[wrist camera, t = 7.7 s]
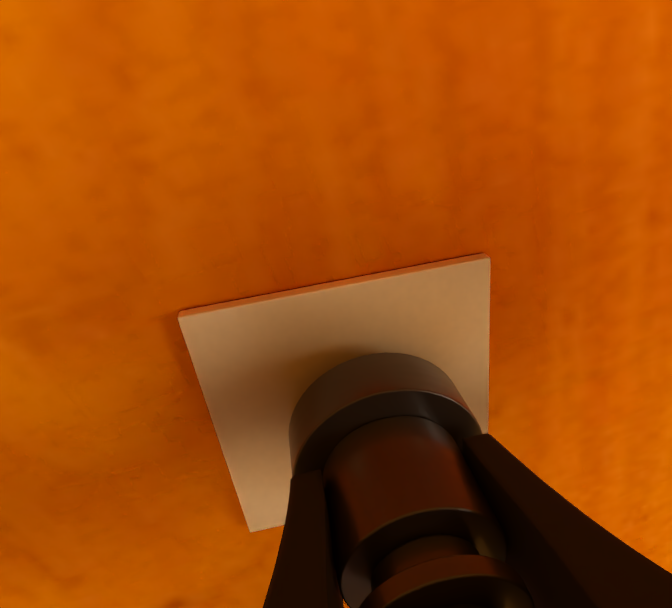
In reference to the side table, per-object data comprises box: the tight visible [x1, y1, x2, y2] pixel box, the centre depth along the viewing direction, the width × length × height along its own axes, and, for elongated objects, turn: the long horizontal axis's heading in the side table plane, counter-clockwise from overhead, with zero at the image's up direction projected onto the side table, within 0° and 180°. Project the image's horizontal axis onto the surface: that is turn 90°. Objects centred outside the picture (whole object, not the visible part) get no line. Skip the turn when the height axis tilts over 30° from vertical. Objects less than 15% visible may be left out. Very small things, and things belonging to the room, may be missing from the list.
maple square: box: [177, 253, 490, 532], centre depth 14 cm, size 8×8×1 cm
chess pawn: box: [289, 352, 534, 608], centre depth 9 cm, size 5×5×8 cm
